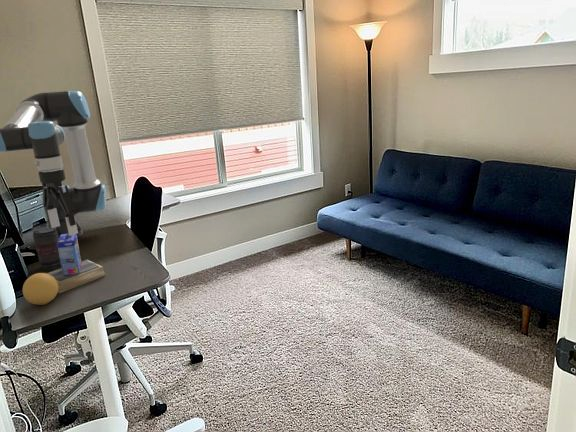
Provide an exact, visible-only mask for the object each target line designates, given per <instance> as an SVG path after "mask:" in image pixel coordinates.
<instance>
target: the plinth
mask: <svg viewBox="0 0 576 432" xmlns="http://www.w3.org/2000/svg"><path fill="white" fill-rule="evenodd" d="M81 263H82V266H81V269H80V273H79V274H71V275H64V276H63V271H62V267H61V268H58V269H56V270H53V271H50V272H47V273H48V274H51V275H52V276H53V277H54V278H55V279H56V280H57V281H58V283H59V286H58V292H57V293H59V294H61V293H64V292H66V291H67V292H68V291H69V290H72V289H74V288H77V287H80V286H82V285H85V284H88V283H90V282H92V281H95V280H98V279H100V278H103V277H106V276H105V275H106V273H105V269H104V266H103V265H100V264H98V263H95V262H94V261H91V260H89V259H84V260H81Z"/></svg>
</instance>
